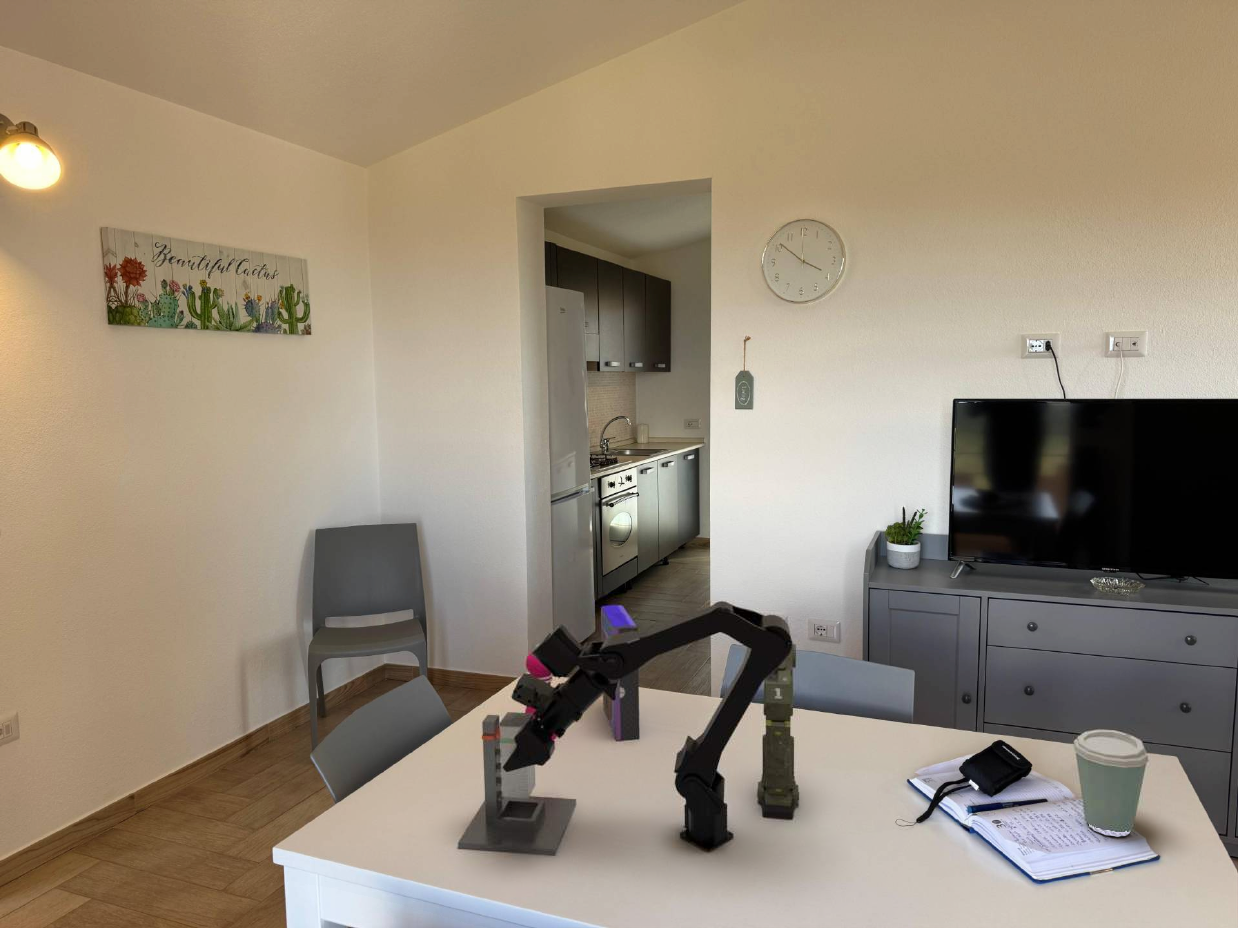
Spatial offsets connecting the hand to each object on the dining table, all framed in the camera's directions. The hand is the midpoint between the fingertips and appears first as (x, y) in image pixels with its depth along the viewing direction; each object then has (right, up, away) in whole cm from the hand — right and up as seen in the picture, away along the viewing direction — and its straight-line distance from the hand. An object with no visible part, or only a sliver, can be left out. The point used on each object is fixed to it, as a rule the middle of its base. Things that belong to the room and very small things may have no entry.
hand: (512, 756), depth 140 cm
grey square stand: (+1, -12, +1) cm, 12 cm away
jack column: (+1, -6, 0) cm, 6 cm away
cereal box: (+18, -8, +42) cm, 46 cm away
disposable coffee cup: (+98, -11, -2) cm, 99 cm away
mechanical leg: (+46, -11, +8) cm, 48 cm away
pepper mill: (+2, -8, +36) cm, 37 cm away
